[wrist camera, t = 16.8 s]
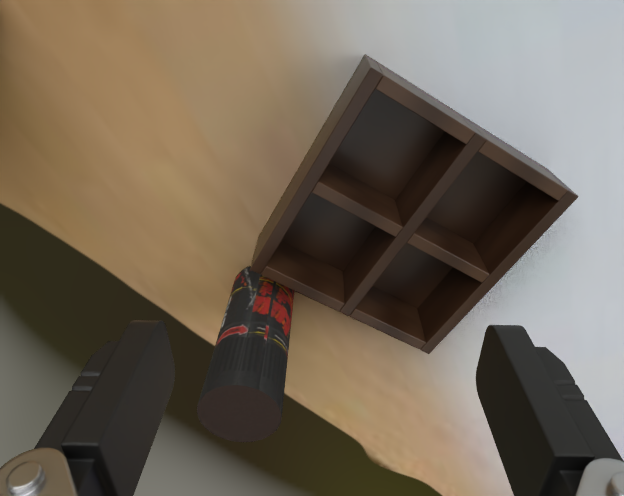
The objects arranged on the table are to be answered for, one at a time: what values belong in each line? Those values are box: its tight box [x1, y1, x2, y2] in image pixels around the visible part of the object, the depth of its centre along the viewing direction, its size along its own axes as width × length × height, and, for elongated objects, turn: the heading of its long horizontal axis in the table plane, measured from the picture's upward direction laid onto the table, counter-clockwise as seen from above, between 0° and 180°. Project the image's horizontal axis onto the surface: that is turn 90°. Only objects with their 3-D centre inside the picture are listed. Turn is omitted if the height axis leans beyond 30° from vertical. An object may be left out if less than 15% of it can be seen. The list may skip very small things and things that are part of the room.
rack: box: [250, 55, 578, 354], centre depth 38 cm, size 18×18×5 cm
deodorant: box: [197, 266, 294, 442], centre depth 39 cm, size 6×6×15 cm
